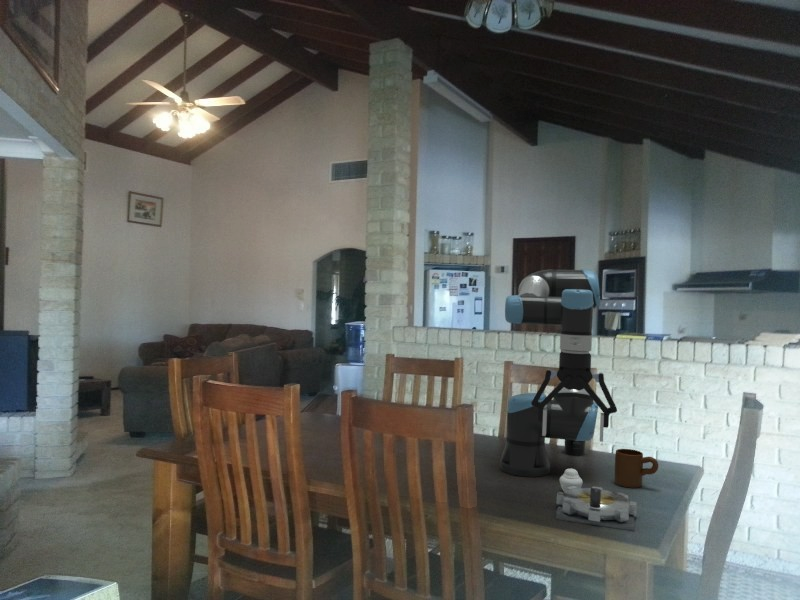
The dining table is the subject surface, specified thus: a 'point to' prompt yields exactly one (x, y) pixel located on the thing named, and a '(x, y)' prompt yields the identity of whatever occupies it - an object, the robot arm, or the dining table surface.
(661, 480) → the dining table surface
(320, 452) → the dining table surface
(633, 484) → the mug
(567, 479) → the muffin
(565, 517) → the base plate
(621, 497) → the sprocket
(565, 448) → the supplement bottle
